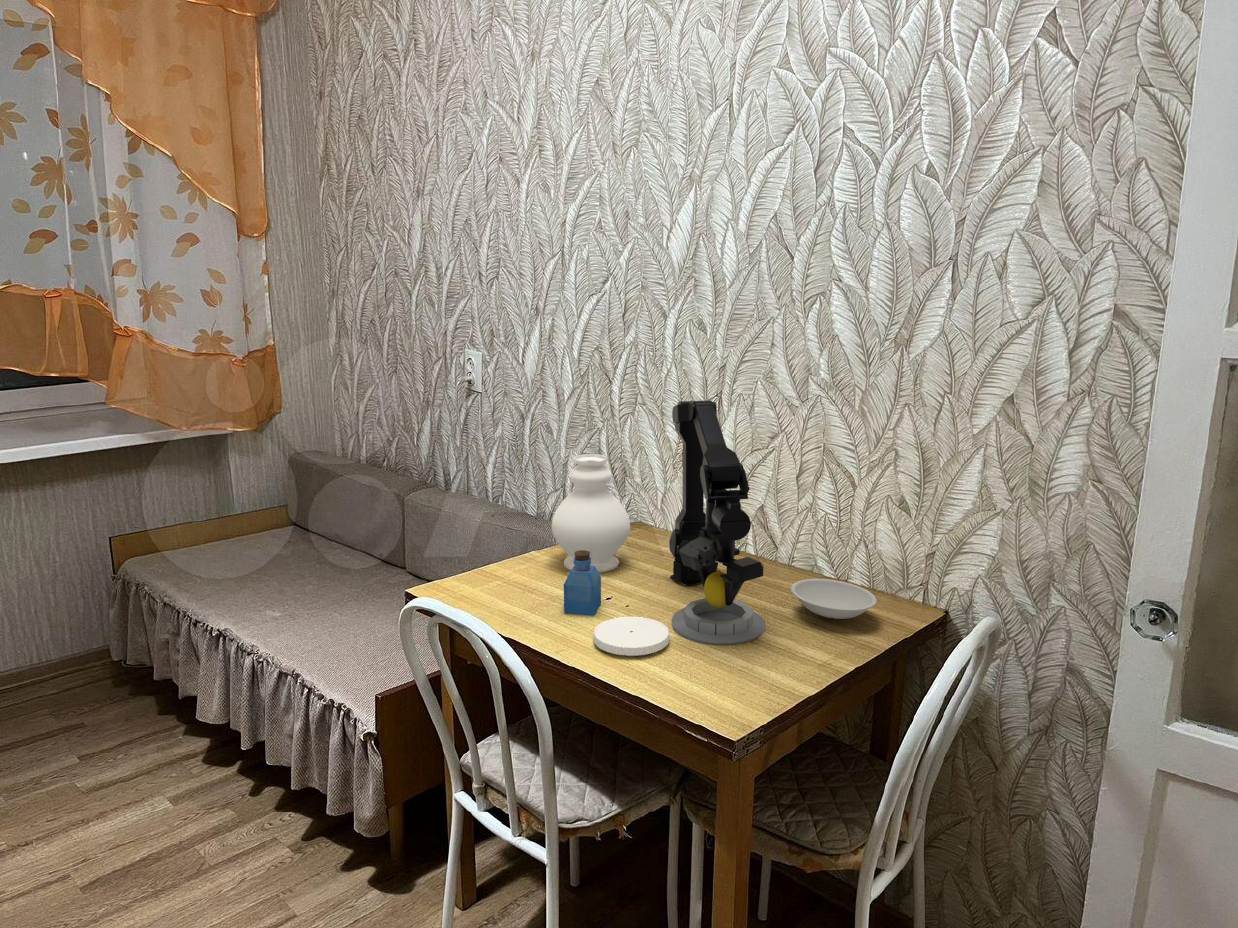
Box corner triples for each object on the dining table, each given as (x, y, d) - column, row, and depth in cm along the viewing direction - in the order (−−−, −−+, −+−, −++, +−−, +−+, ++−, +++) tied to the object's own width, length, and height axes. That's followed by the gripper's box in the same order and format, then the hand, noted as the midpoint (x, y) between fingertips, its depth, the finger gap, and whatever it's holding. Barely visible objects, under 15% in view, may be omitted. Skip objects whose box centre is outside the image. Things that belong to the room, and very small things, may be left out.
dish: (773, 613, 190) (774, 589, 189) (818, 595, 199) (819, 572, 198) (846, 641, 177) (848, 616, 176) (890, 621, 186) (892, 597, 185)
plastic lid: (684, 646, 176) (684, 633, 175) (626, 668, 167) (626, 654, 167) (636, 622, 186) (636, 610, 186) (578, 641, 178) (578, 629, 177)
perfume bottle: (594, 616, 189) (593, 559, 186) (564, 613, 190) (563, 556, 187) (601, 604, 195) (600, 548, 192) (571, 601, 196) (571, 546, 193)
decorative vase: (644, 559, 220) (645, 454, 214) (602, 583, 206) (601, 471, 200) (581, 546, 230) (580, 445, 224) (536, 567, 215) (534, 461, 209)
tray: (722, 600, 196) (722, 586, 196) (784, 629, 182) (785, 615, 181) (653, 620, 186) (653, 606, 186) (713, 653, 172) (713, 637, 171)
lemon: (701, 603, 186) (702, 565, 184) (729, 603, 186) (730, 564, 184) (706, 615, 181) (707, 576, 179) (734, 614, 181) (736, 575, 179)
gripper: (656, 518, 182) (655, 594, 186) (721, 544, 167) (718, 626, 171) (701, 508, 188) (699, 582, 192) (767, 533, 174) (763, 612, 177)
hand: (718, 600), depth 183 cm, fingers closed on lemon, 5 cm apart
